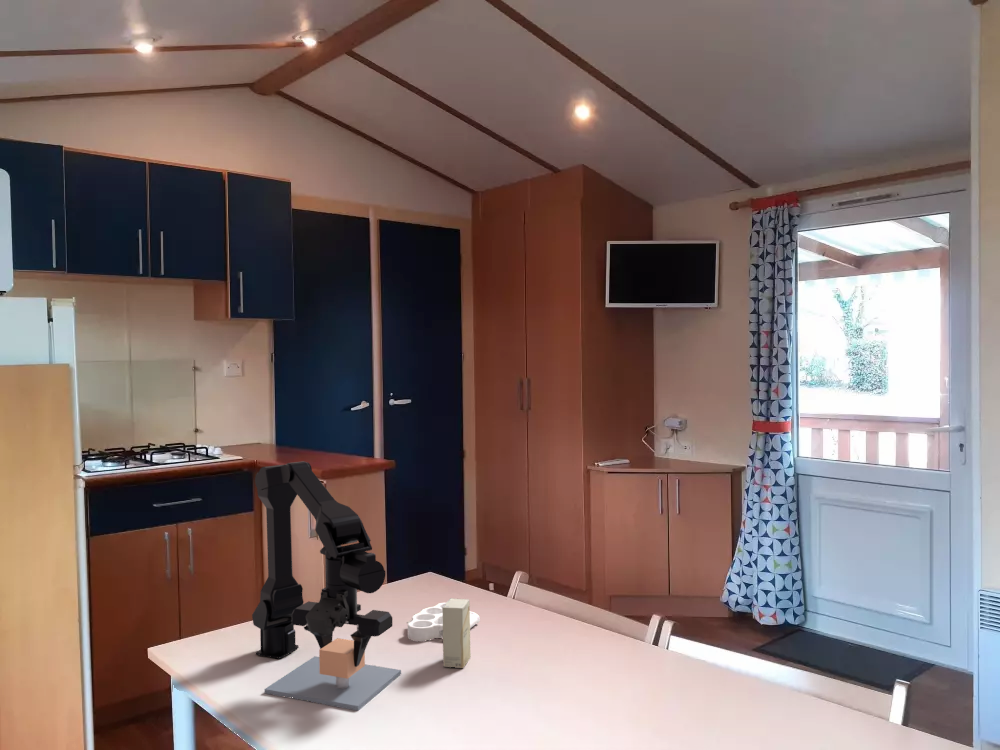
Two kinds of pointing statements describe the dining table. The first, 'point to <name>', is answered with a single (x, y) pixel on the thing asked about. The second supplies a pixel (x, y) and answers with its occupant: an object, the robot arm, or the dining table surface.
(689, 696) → the dining table surface
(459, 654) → the skincare box
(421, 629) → the white egg tray
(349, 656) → the orange block
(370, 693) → the base plate
